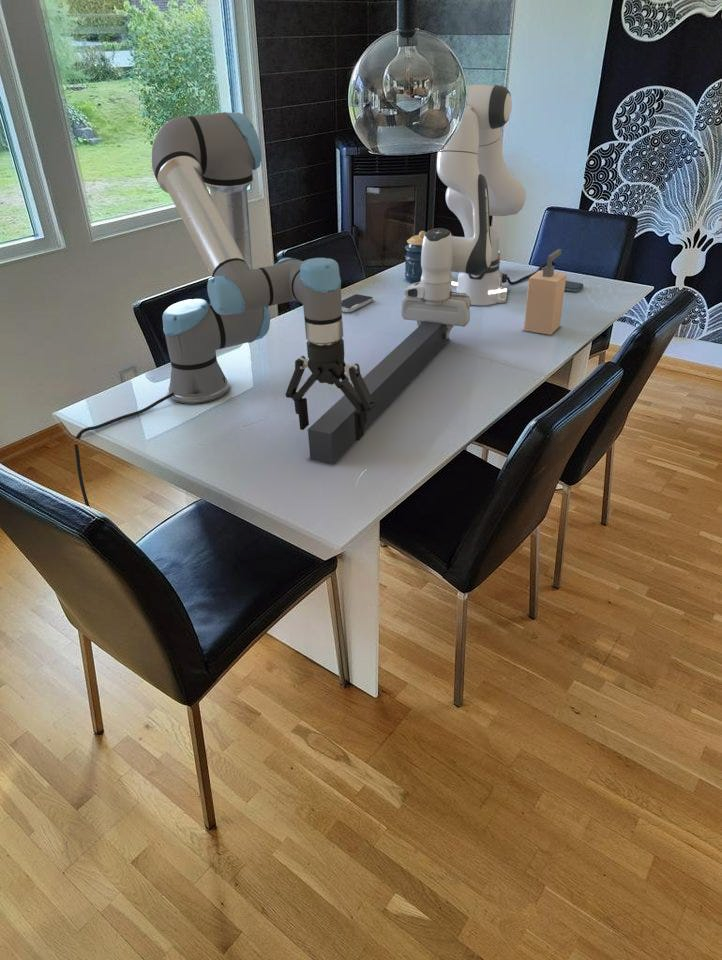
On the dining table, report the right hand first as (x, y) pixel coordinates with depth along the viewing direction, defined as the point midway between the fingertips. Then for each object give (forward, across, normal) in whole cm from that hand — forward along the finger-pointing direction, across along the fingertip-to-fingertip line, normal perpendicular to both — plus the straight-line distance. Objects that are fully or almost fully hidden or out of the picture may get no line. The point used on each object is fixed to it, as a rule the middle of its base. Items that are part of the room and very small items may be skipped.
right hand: (434, 336), depth 198 cm
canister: (+3, +27, -61) cm, 67 cm away
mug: (+3, +5, -78) cm, 78 cm away
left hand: (-2, 0, +67) cm, 67 cm away
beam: (+3, 0, +34) cm, 34 cm away
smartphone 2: (+3, -23, -68) cm, 72 cm away
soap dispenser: (+3, -27, -26) cm, 38 cm away
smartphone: (+3, +39, -25) cm, 46 cm away
